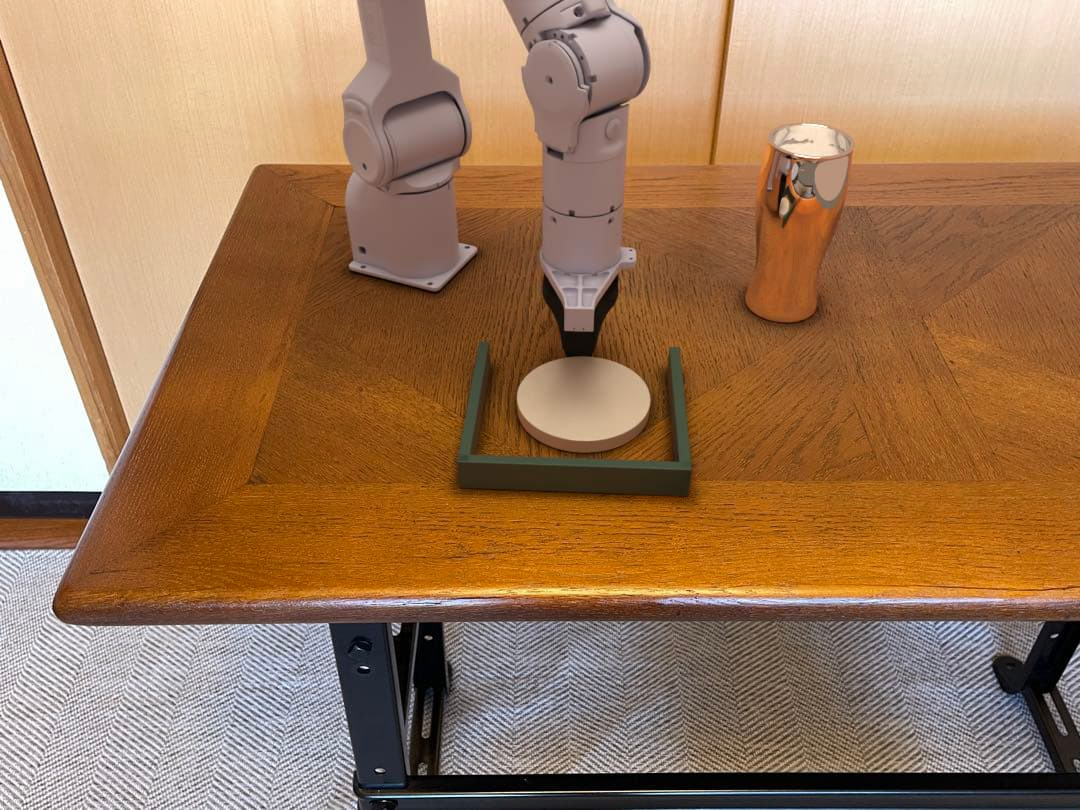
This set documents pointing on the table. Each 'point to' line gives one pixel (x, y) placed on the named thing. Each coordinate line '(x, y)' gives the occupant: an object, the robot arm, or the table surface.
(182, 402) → the table surface
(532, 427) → the plate
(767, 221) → the beer glass
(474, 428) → the green u-shaped bracket
